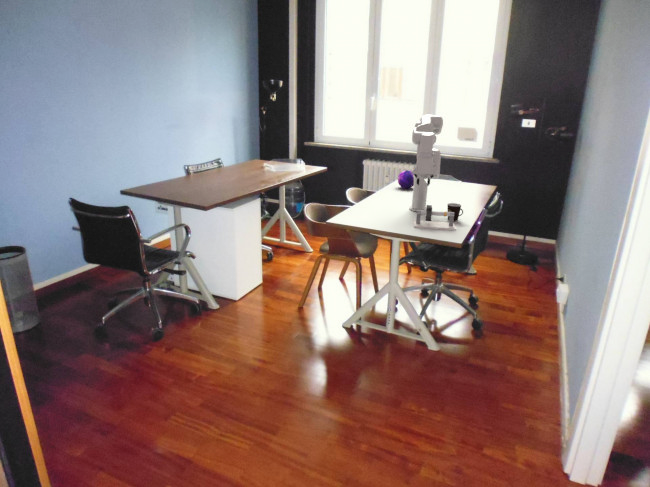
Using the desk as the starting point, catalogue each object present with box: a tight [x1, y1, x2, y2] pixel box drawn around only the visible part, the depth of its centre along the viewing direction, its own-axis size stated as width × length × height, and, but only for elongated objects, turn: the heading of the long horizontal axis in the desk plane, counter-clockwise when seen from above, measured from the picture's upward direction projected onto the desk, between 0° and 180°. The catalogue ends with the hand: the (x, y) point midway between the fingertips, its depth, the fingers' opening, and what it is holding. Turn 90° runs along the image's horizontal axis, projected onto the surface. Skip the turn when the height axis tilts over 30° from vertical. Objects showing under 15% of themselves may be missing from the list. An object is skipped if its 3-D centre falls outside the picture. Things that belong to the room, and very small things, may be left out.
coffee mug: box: [447, 202, 464, 222], centre depth 308 cm, size 12×9×10 cm
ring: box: [425, 204, 433, 221], centre depth 295 cm, size 8×3×8 cm, turn 170°
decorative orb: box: [397, 169, 414, 190], centre depth 397 cm, size 15×15×15 cm
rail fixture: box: [413, 210, 457, 231], centre depth 296 cm, size 13×25×9 cm, turn 80°
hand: (423, 184), depth 290 cm, fingers open, 5 cm apart
